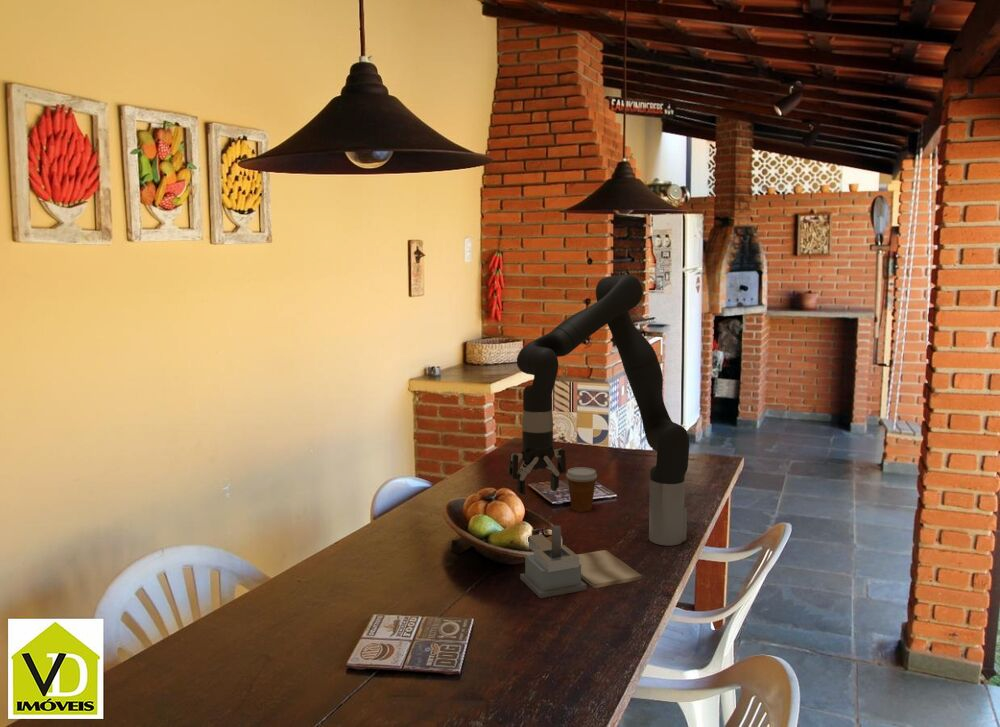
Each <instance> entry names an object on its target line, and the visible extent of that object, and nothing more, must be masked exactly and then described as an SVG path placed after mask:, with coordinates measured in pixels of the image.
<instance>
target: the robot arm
mask: <svg viewBox="0 0 1000 727" xmlns="http://www.w3.org/2000/svg"><path fill="white" fill-rule="evenodd" d="M643 289H644V288H643V286H642V282H641V281H640V279H639V278H638V277H636V276H635V275H632V274H618V275H612V276H610V275H609V276H605V277H602V278H601V279H600V280H599V281H598V282H597V284H596V288H595V298H596V302H594V303H593V304H591V305H590V306H588V307H586V308H584V309H582V310H579V311H578V312H576V313H574V314H572V315H571V316H569V317H568V318H566V319H564V320H563V321H562V322H560V324H558V325H557V326H555V327H554V328H553V329H552V330H551V331H550V332H548V333H546V334H544V335H541V336H540V337H538V338H536V339H534V340H532V341H530V342H528V344H527V343H526V345H524V347H523V348H521V349H520V351H519V353H518V354H517V357H516V365H517V368H518V369H519V371H521V373H524V374H526V375H532V376H533V381H532V384H530V385H527V386H525V387H524V389H523V393H522V409H523V410H522V418H521V420H522V421H521V422H522V424H521V429H522V433H521V435H522V436H521V437H522V439H521V440H522V442H521V443H522V445H521V446H522V451H521V453H514V452H510V454H509V469H508V470H509V471H508V475H509V477H511V478H512V479H513V480H516V490H517V491H516V492H517V493H519V495H521V496H525V495H526V480H525V479H526V477H527V476H528V475H529V474H530V472H531V471H532V470H533V471H536V470H539V469H542V470H543V469H546V468H547V470H548V471H549V472H550V473H551V474H550V490H551V491H553V492H557V489H558V488H559V485H560V484H559V483H560V480H559V479H560V478H559V477H560V475H561V474H565V473H567V461H566V460H567V459H566V451H565V449H564V448H561V447H556V449H554V448H553V447H554V416H553V391H554V388H555V384H556V380H557V375H558V371H559V357H565V356H567V355H569V354H570V353H572V352H573V351H574V350H575V349H577V347H579V346H580V345H581V344H582V343H584V342H585V341H586V340H587V339H588V338H589V337H591V336H592V335H593V334H595V333H596V332H598V331H599V330H600V329H602V328H603V327H605V326H606V325H607V326H608V329H609V331H610V334H611V336H612V338H613V341H614V344H615V346H616V349H617V351H618V355H619V357H620V360H621V363H622V366H623V370H624V372H625V376H626V378H627V380H628V383H629V385H630V390H631V391H632V394H633V397H634V400H635V402H636V404H637V408H638V409H639V410H638V411H639V413H640V418H641V422H642V426H643V431H644V435H645V439H646V442H647V443H648V445H649V447H650V448H651V449H652V450H653V451H655V452H656V464H655V466H652V467H651V469H650V472H649V514H648V515H649V519H648V520H649V523H648V526H649V527H648V529H649V530H648V540H649V541H650V542H651V543H653V544H655V545H660V546H666V547H667V546H668V547H669V546H678V545H681V544H682V543H684V542H686V541H687V532H688V530H687V529H688V528H687V525H688V524H687V523H688V508H687V507H686V506H685V478H686V473H687V471H688V468H689V455H690V437H689V433H688V431H687V429H686V428H685V427H683V425H680V424H678V423H676V422H673V421H672V418H671V417H670V415H669V412H668V411H667V410H668V409H667V407H666V405H665V402H664V396H663V395H664V394H663V390H664V389H663V387H664V385H663V384H664V377H663V371H662V366H661V364H660V361H659V359H658V356H657V354H656V351H655V349H654V347H653V345H651V343H650V342H649V341H648V339H646V337H645V336H644V335H643V334H642V333H641V332H640V331H639V329H638V328H637V326H635V324H634V323H633V321H632V319H631V316H630V313H629V311H631V310H632V309H634V308H635V307H637V306H638V305H639V304H640V303H641V300H642V298H643V295H644V294H643V293H644V290H643ZM554 457H556V463H557V467H556V465H554V463H553V462H552V460H553V458H554ZM521 460H522V461H523V462H522V464H521V465H520V468H519V463H520V462H521Z"/></svg>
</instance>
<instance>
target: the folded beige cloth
mask: <svg viewBox="0 0 1000 727" xmlns="http://www.w3.org/2000/svg"><path fill="white" fill-rule="evenodd" d="M577 555H578V556H579V563H580V564H581V580H584V581H585V582H586V584H588V585H590V586H591V588H593V589H598V588H604V587H609V586H615V585H619V584H620V585H621V584H624V583H631V582H636V581H640V580H643V579H642V578H643V575H642V574H640V573H639V572H637V571H636V570H634V569H633V568H632V567H630V566H629V565H627V564H626V563H625V562H623V561H622V560H621V559H619V558H618V557H617V556H615V555H613V554H612V553H611V552H609V551H608V550H607V549H604V550H603V549H602V550H596V551H591V552H585V553H579V554H577Z"/></svg>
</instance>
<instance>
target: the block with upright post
mask: <svg viewBox="0 0 1000 727" xmlns="http://www.w3.org/2000/svg"><path fill="white" fill-rule="evenodd" d="M551 542H552V558H558V557H561V545H562V526H561V525H557V524H554V525H551ZM524 559H525V560H524V563H525V565H524V566H525V568H524V569H525V570H524V573H520V574H519V579H520V581H522V583H524V584H525V585H526V586H527V587H528V588H529V589H530V590H531V591H532V592H533V593H534V594H535V595H536V596H537V597H538V598H539V599H545V598H550V597H556V596H561V595H566V594H571V593H577V592H582V591H587V590H588V587H587V583H585V582H584V581H582V578H581V564H580V563H579V567H576V568H570V569H564V570H558V571H553V572H547V571H546V570H545V569H544V568H543V567H542V566H540V565H539V564H538V563H537V562H536V561H535V560H534V554H530V555H529V554H528V555H525V557H524Z"/></svg>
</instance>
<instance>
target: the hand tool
mask: <svg viewBox="0 0 1000 727" xmlns="http://www.w3.org/2000/svg"><path fill="white" fill-rule="evenodd" d="M469 549H472V548H471V546H470V545H469V544H468V543H467V542H466V541H465V540H464V539H463V537H460V538H458V539H452V540H451V550H452V552H453V553H456V554H458V555H461V554H462V553H466V551H467V550H469Z"/></svg>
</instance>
